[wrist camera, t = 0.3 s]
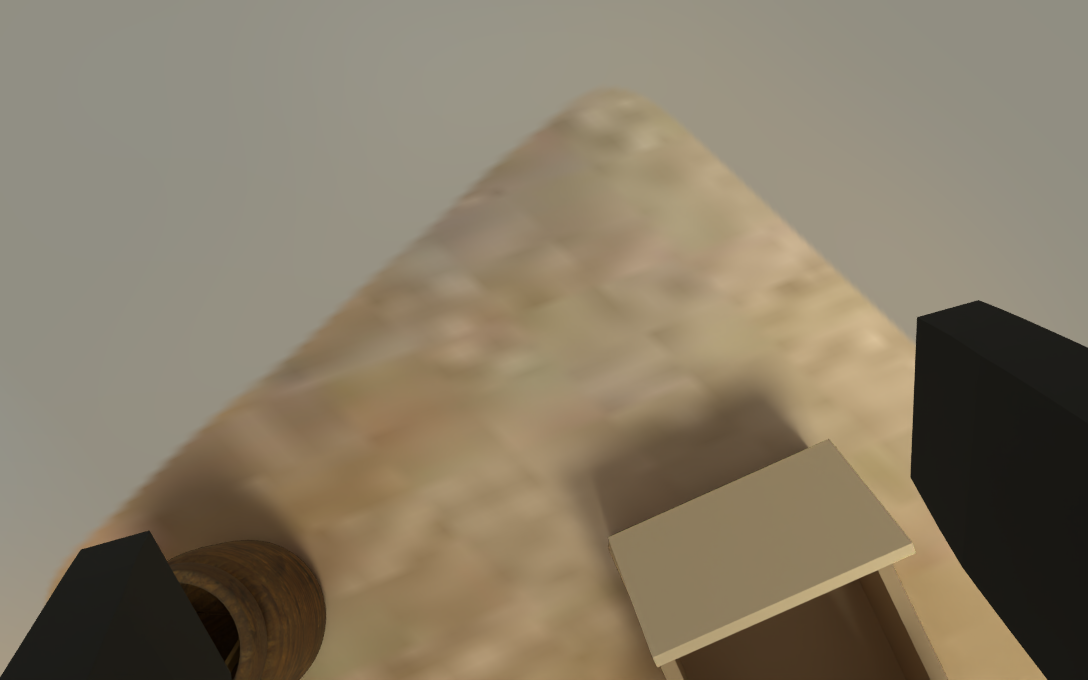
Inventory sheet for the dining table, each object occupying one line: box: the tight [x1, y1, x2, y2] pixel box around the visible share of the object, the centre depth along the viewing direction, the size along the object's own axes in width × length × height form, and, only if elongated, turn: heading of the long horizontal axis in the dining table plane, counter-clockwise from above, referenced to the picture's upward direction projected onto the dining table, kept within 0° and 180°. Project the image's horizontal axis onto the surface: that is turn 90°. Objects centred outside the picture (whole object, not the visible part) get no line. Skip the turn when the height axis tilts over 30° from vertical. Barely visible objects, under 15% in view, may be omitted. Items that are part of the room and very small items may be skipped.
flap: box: [608, 439, 916, 667], centre depth 31 cm, size 6×8×1 cm
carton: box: [608, 542, 948, 680], centre depth 35 cm, size 11×8×5 cm
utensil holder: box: [167, 540, 326, 680], centre depth 33 cm, size 6×6×12 cm
